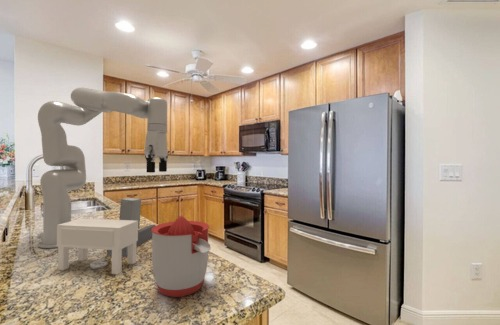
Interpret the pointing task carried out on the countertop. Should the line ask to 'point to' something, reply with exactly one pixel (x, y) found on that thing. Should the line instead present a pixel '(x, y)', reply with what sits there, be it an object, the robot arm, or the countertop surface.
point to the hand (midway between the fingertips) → (157, 172)
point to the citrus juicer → (180, 256)
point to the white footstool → (97, 240)
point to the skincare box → (130, 209)
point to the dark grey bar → (143, 236)
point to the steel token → (98, 264)
